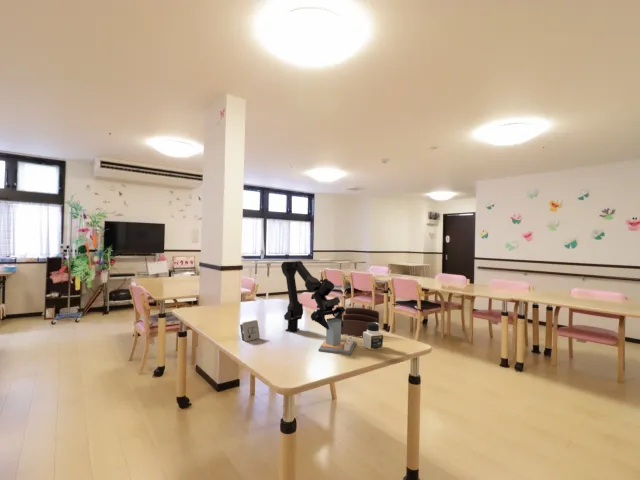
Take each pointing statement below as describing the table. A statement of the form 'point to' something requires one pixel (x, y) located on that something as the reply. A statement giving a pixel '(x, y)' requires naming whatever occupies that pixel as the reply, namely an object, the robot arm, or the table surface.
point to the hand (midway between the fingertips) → (335, 328)
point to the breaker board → (339, 347)
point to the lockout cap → (333, 331)
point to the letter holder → (358, 320)
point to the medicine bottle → (372, 336)
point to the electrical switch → (250, 330)
